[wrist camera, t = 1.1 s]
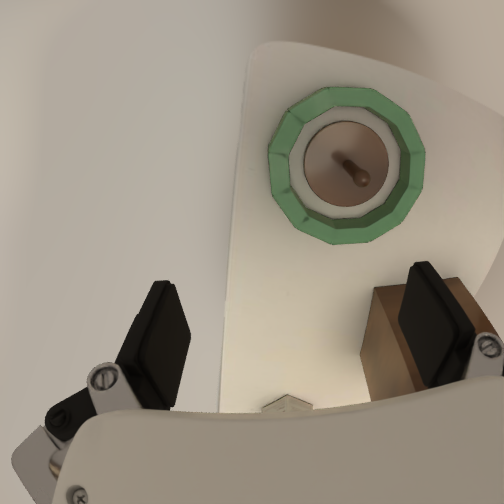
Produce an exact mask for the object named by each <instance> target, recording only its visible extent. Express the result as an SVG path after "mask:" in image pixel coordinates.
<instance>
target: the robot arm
mask: <svg viewBox="0 0 504 504" xmlns="http://www.w3.org/2000/svg"><path fill="white" fill-rule="evenodd" d="M398 323H399V326H400V328H401V330H402V333H403V335H404V337H405V340H406V342H407V344H408V347H409V349H410V351H411V354H412V356H413V359H414V361H415V364H416V366H417V369H418V371H419V374H420V376H421V379H422V382H423V384H424V386H426V387H428V389H427V390H423V391H419V392H415V393H411V394H407V395H402V396H398V397H393V398H388V399H383V400H378V401H372V402H367V403H361V404H354V405H348V406H340V407H333V408H324V409H315V410H304V411H291V412H273V413H202V412H201V413H200V412H181V411H170V407H174V405H175V402H176V398H177V393H178V389H179V385H180V381H181V376H182V373H183V368H184V364H185V360H186V356H187V352H188V348H189V344H190V340H191V333H190V329H189V326H188V324H187V321H186V318H185V315H184V312H183V309H182V306H181V303H180V300H179V296H178V293H177V290H176V287H175V285H174V284H171V283H170V281H168V280H164V281H155V282H154V283H153V285H152V287H151V289H150V291H149V293H148V295H147V297H146V299H145V301H144V303H143V305H142V308H141V309H140V312H139V314H137V315H136V317H135V319H134V321H133V323H132V325H131V327H130V329H129V332H128V334H127V336H126V338H125V340H124V343H123V345H122V347H121V350H120V352H119V354H118V356H117V358H116V361H115V363H111V362H107V363H102V364H99V365H97V366H96V367H94V368H93V369H92V370H91V372H90V373H89V375H88V378H87V387H86V388H84V389H83V390H81V391H79V392H77V393H76V394H74V395H72V396H70V397H68V398H66V399H65V400H63V401H61V402H59V403H57V404H56V405H54V406H53V407H51V408H50V410H49V411H48V412H47V414H46V416H45V426H44V427H42V426H41V425H40V426H39V427H38V428H37V429H36V430H35V431H34V432H33V433H32V434H31V435H30V436H29V437H28V438H27V439H26V440H25V441H24V442H23V443H21V445H20V446H18V447H17V448H16V449H15V451H14V452H13V454H12V458H11V460H12V466H13V468H14V470H15V472H16V473H17V475H18V477H19V478H20V480H21V481H22V483H23V485H24V486H25V488H26V489H27V491H28V492H29V494H30V495H31V497H32V498H33V500H34V501H35V503H36V504H504V344H503V342H502V341H501V339H500V338H499V337H498V336H496V335H495V334H493V333H489V332H482V333H479V334H478V335H477V334H476V332H475V330H476V329H475V327H474V325H473V324H472V322H471V321H470V319H469V318H468V316H467V314H466V313H465V311H464V310H463V308H462V307H461V305H460V304H459V302H458V301H457V299H456V298H455V297H454V295H453V294H452V292H451V291H450V289H449V288H448V287H447V285H446V284H445V282H444V281H443V280H442V278H441V277H440V276H439V274H438V273H437V272H436V270H435V269H434V268H433V266H432V265H431V264H430V263H429V262H428V261H422V262H415V263H414V265H413V266H411V267H410V270H409V275H408V279H407V283H406V287H405V292H404V296H403V300H402V303H401V307H400V311H399V314H398Z"/></svg>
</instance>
